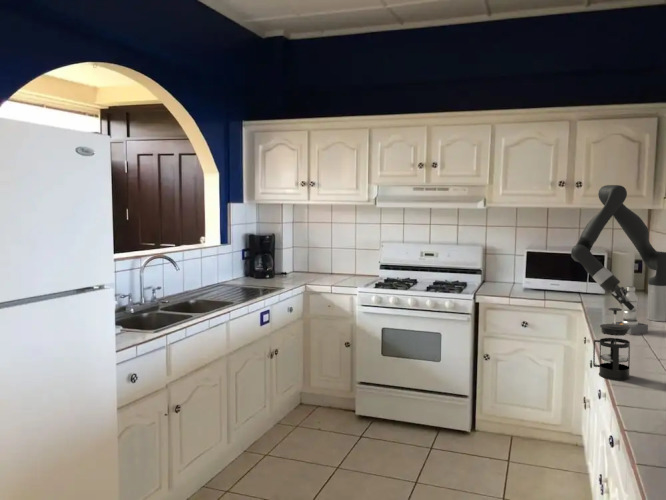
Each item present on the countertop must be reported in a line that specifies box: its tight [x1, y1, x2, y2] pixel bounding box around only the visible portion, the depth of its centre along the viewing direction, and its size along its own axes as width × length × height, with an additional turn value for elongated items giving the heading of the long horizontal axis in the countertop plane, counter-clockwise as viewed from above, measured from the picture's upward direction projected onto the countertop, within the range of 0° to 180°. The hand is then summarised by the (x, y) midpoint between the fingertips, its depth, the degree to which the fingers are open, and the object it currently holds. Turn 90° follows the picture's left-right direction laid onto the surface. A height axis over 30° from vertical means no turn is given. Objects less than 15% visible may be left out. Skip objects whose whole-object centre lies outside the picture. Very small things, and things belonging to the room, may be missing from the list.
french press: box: [592, 307, 631, 381], centre depth 187 cm, size 12×9×23 cm
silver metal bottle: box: [622, 285, 639, 326], centre depth 250 cm, size 6×7×20 cm
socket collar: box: [611, 320, 649, 336], centre depth 251 cm, size 10×10×4 cm
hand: (634, 307), depth 249 cm, fingers closed on silver metal bottle, 6 cm apart
